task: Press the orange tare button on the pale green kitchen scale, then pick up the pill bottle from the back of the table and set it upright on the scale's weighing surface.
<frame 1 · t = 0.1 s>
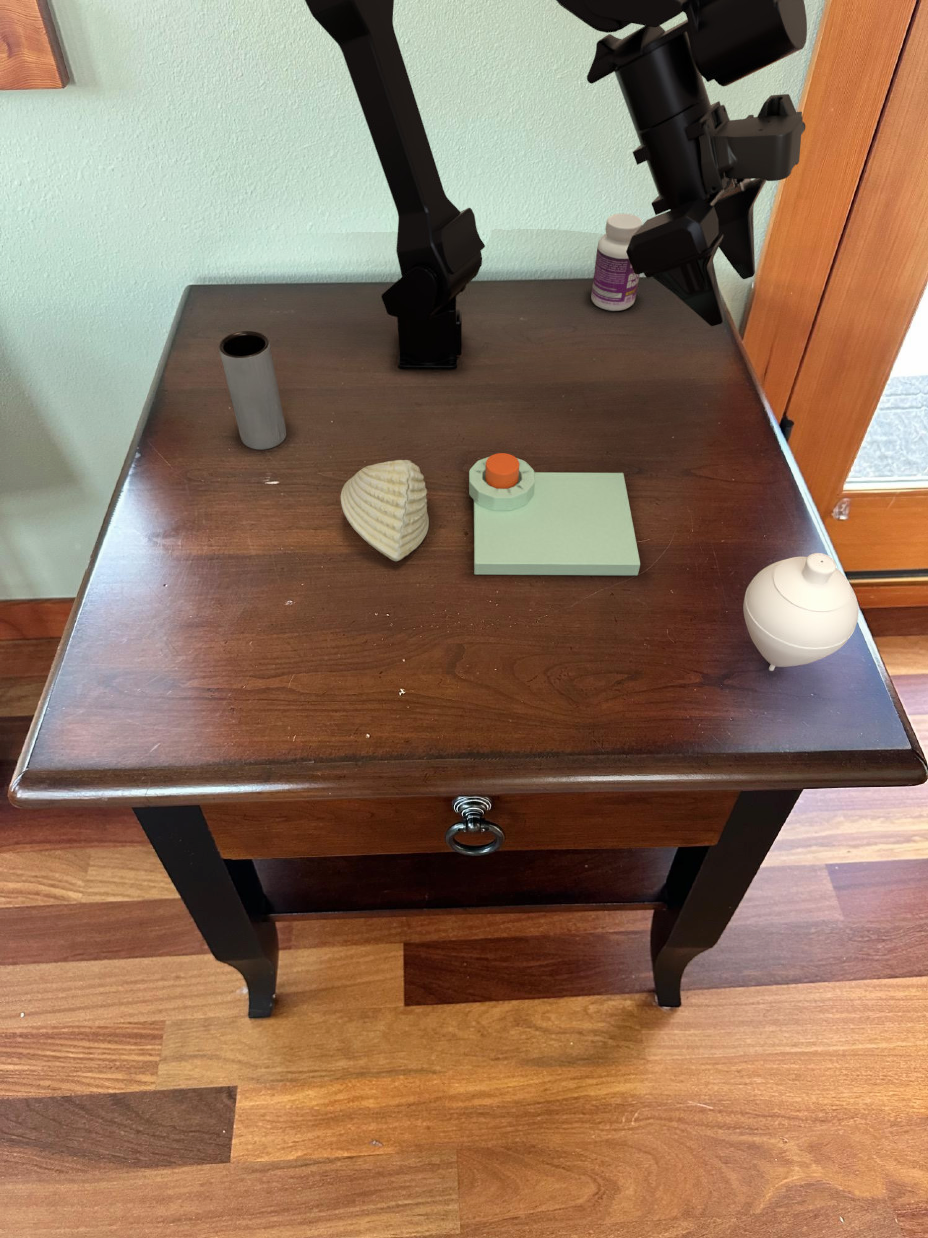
hand: (733, 299, 72), 15 cm above the table, tool tilted 35°, fingers open, 9 cm apart
pill bottle: (612, 302, 101), on the table
spinning top: (770, 671, 65), on the table
tare button: (502, 471, 75), point 4 cm above the table, slide at 0.1 cm
seashell: (385, 527, 75), on the table
grey cylindrical tube: (264, 437, 84), on the table
scale: (551, 527, 75), on the table
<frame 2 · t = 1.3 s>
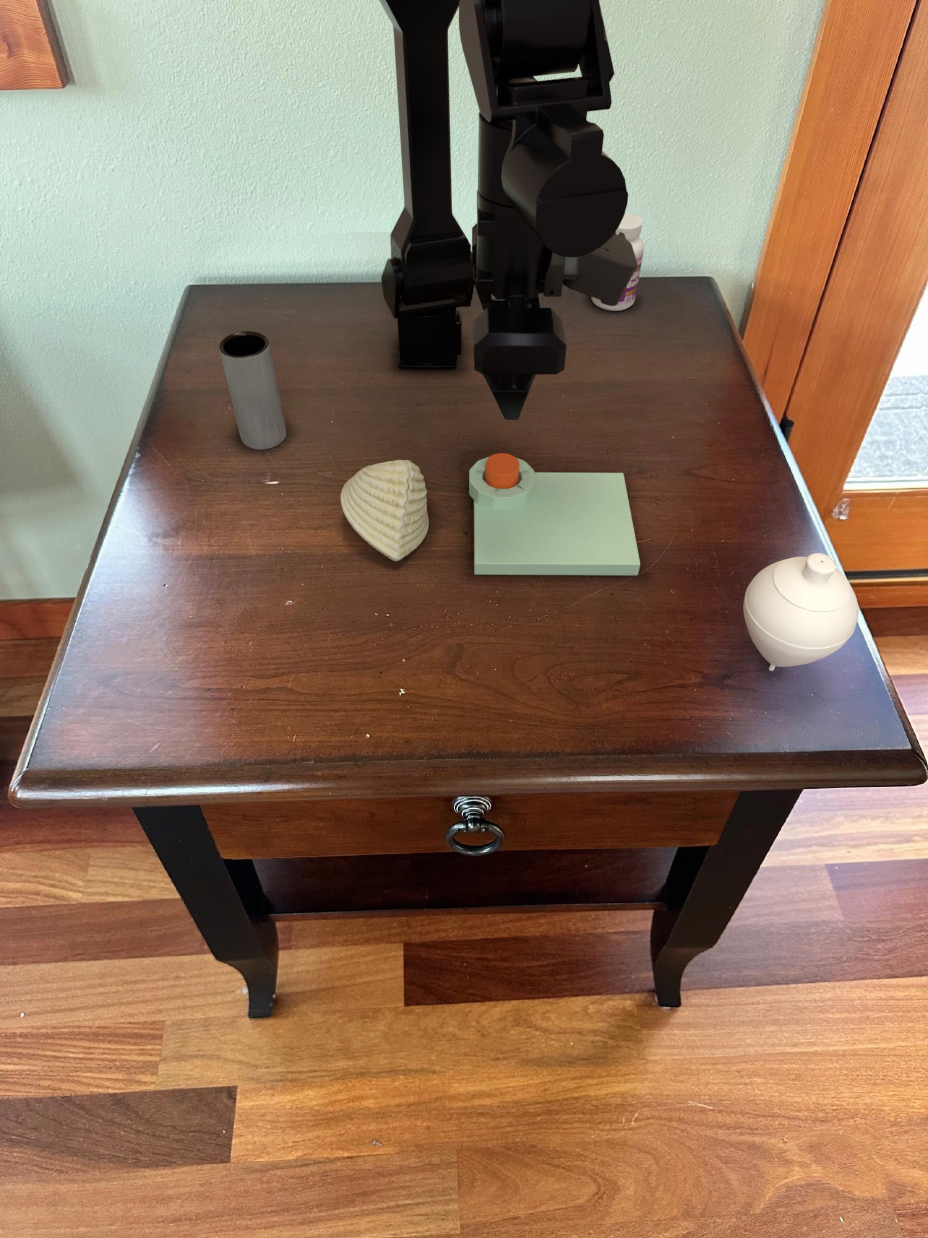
hand: (509, 388, 68), 12 cm above the table, tool pointing down, fingers open, 8 cm apart
nothing on the table moved.
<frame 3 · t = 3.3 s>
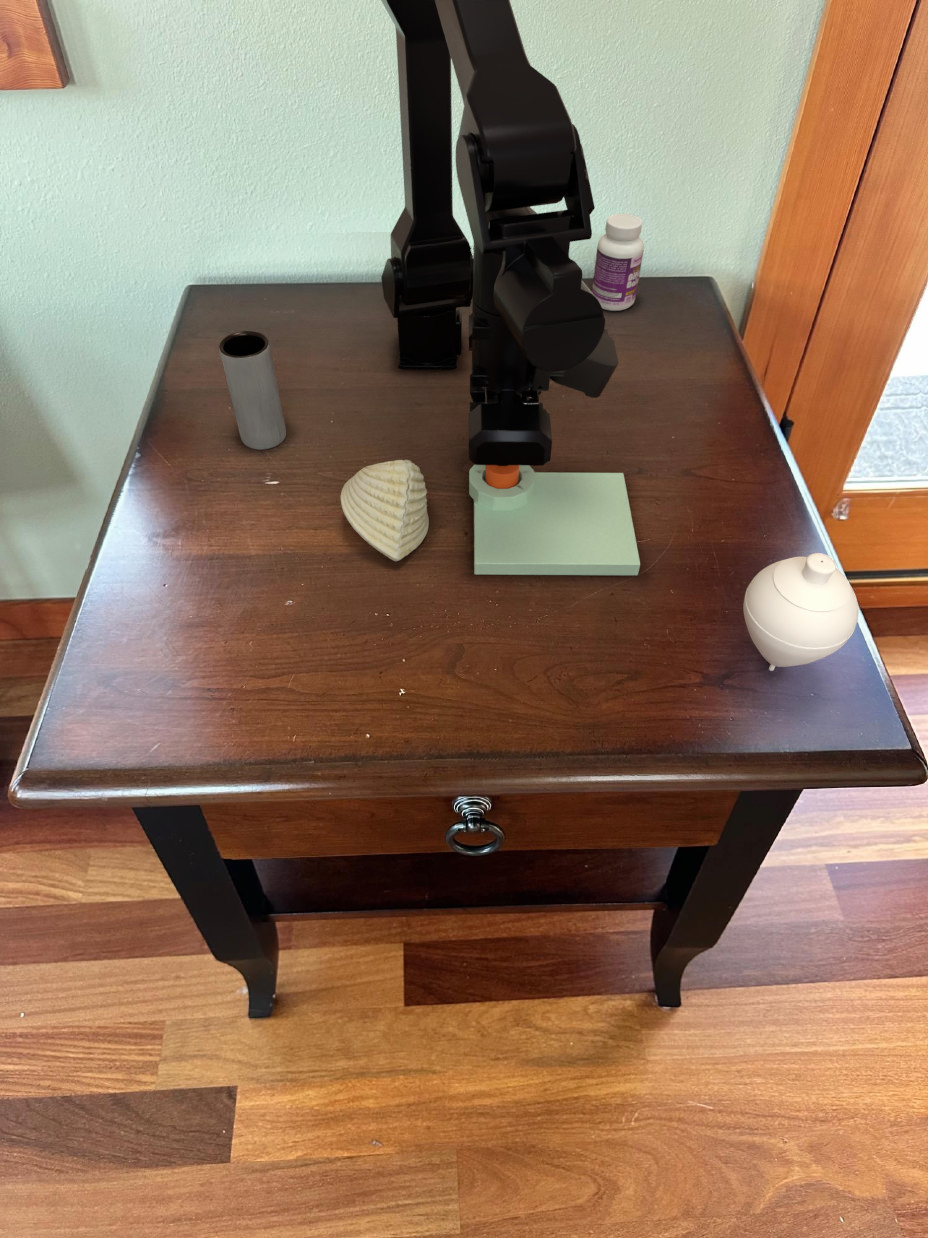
hand: (502, 463, 74), 4 cm above the table, tool pointing down, fingers closed, pressing on tare button
tare button: (502, 471, 75), point 3 cm above the table, slide at 0.1 cm, touching gripper
everything else where it was.
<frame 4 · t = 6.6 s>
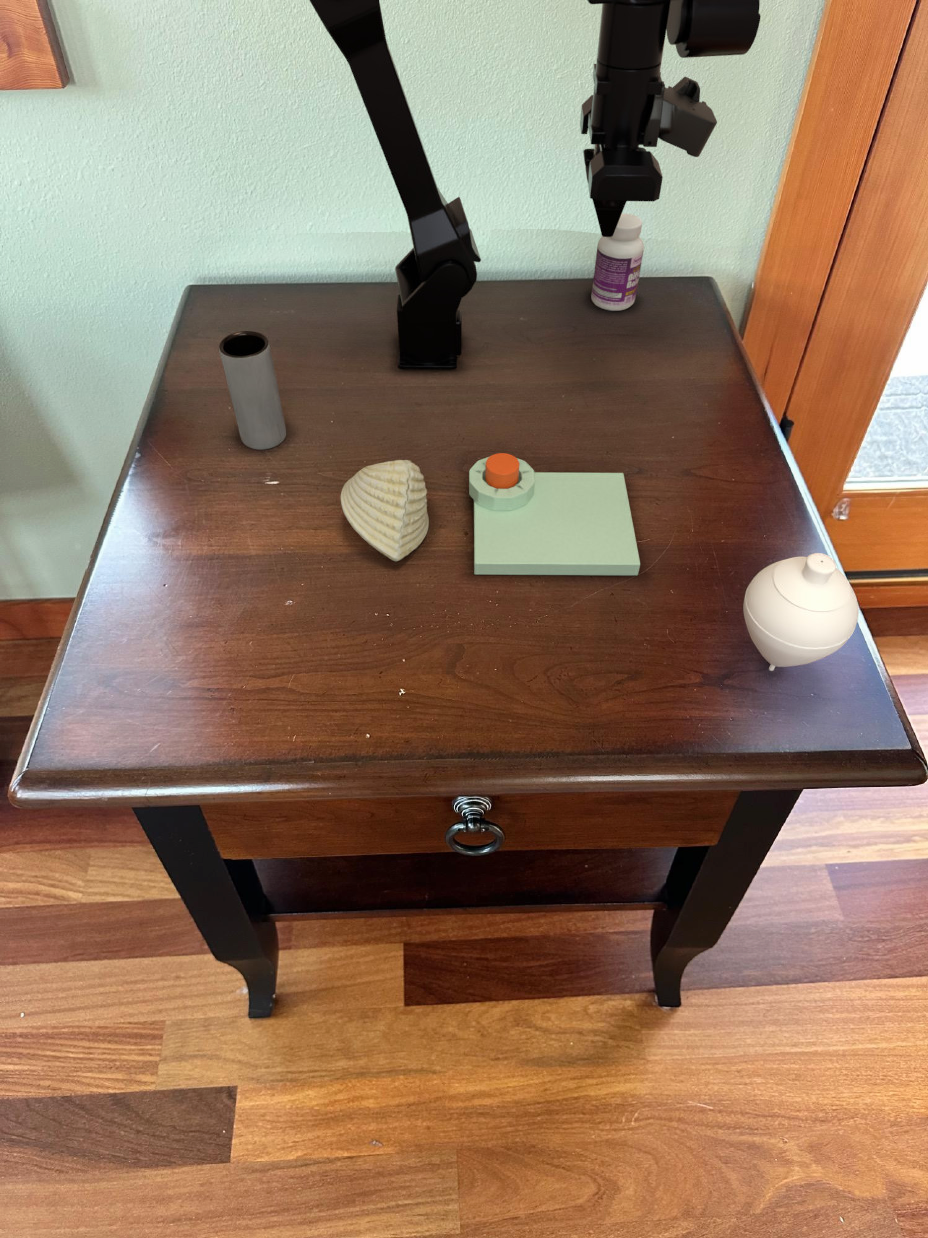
hand: (607, 235, 86), 12 cm above the table, tool pointing down, fingers closed
tare button: (502, 471, 75), point 4 cm above the table, slide at 0.1 cm
everything else where it was.
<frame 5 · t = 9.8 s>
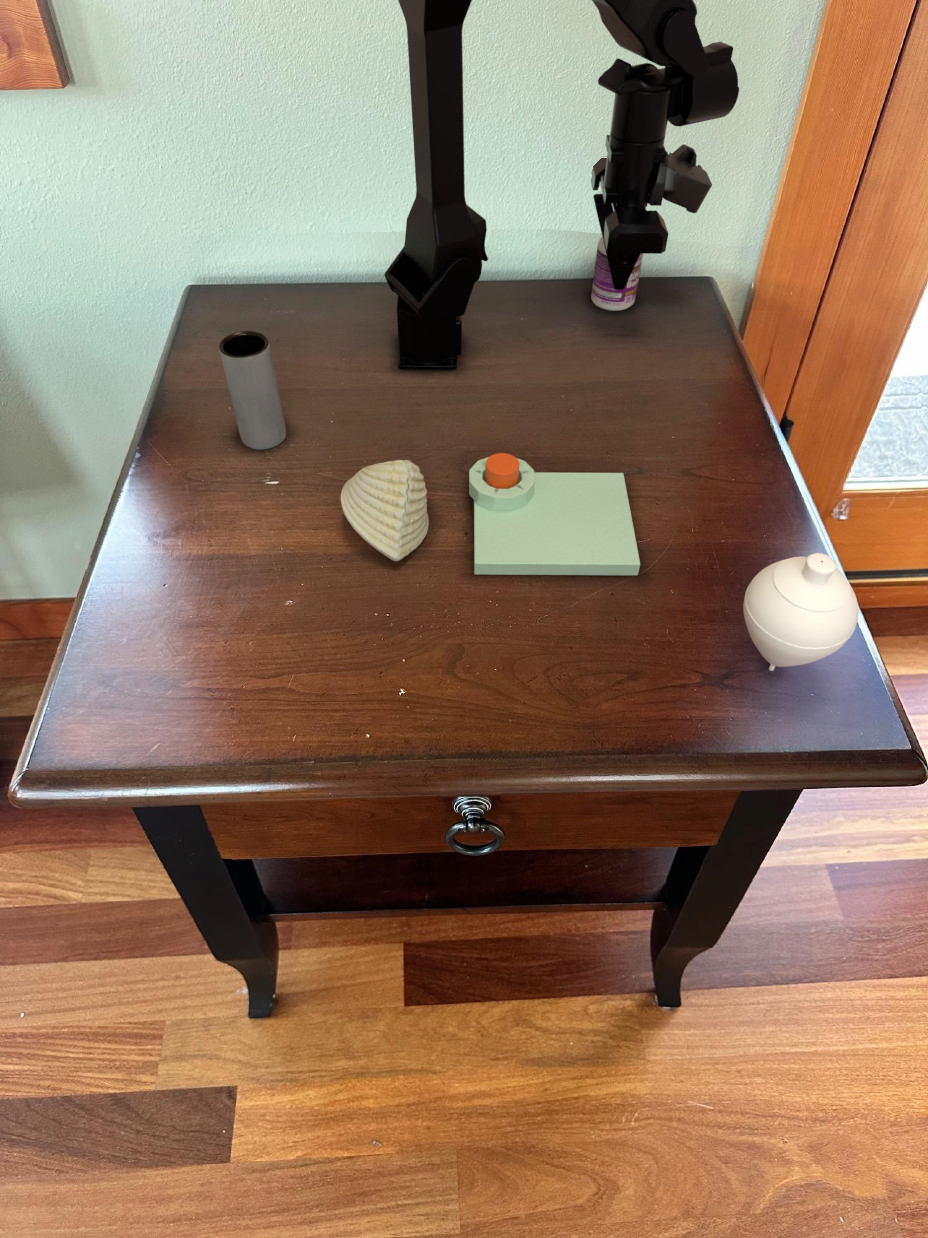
hand: (616, 277, 99), 3 cm above the table, tool pointing down, fingers closed on pill bottle, 5 cm apart
pill bottle: (612, 302, 101), on the table, touching gripper
everything else where it was.
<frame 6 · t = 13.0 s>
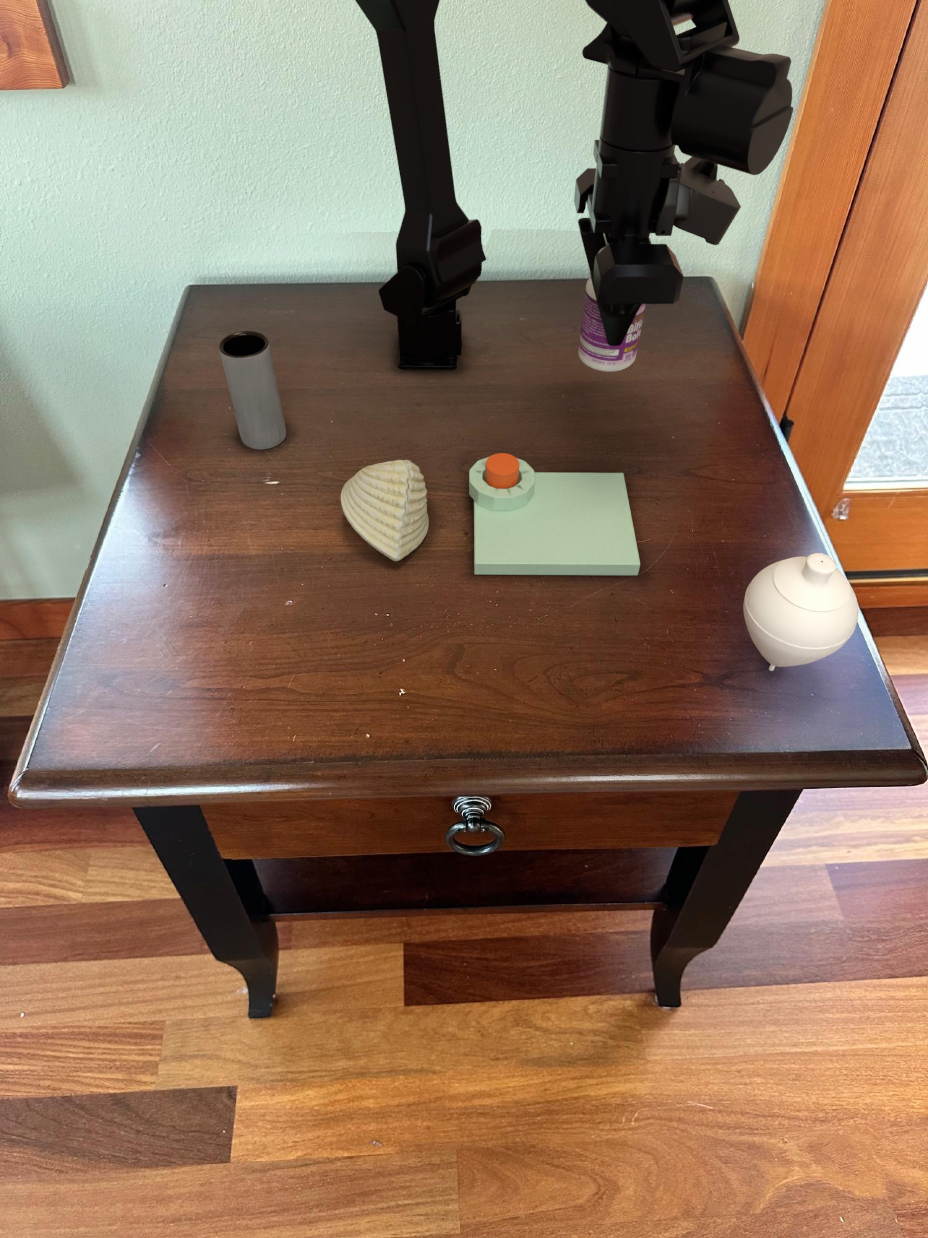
hand: (610, 327, 74), 12 cm above the table, tool pointing down, fingers closed on pill bottle, 5 cm apart
pill bottle: (606, 359, 77), point 9 cm above the table, touching gripper
everything else where it was.
when the fingers open (4 cm above the table, at t = 16.5 s): pill bottle stays where it is, resting on scale.
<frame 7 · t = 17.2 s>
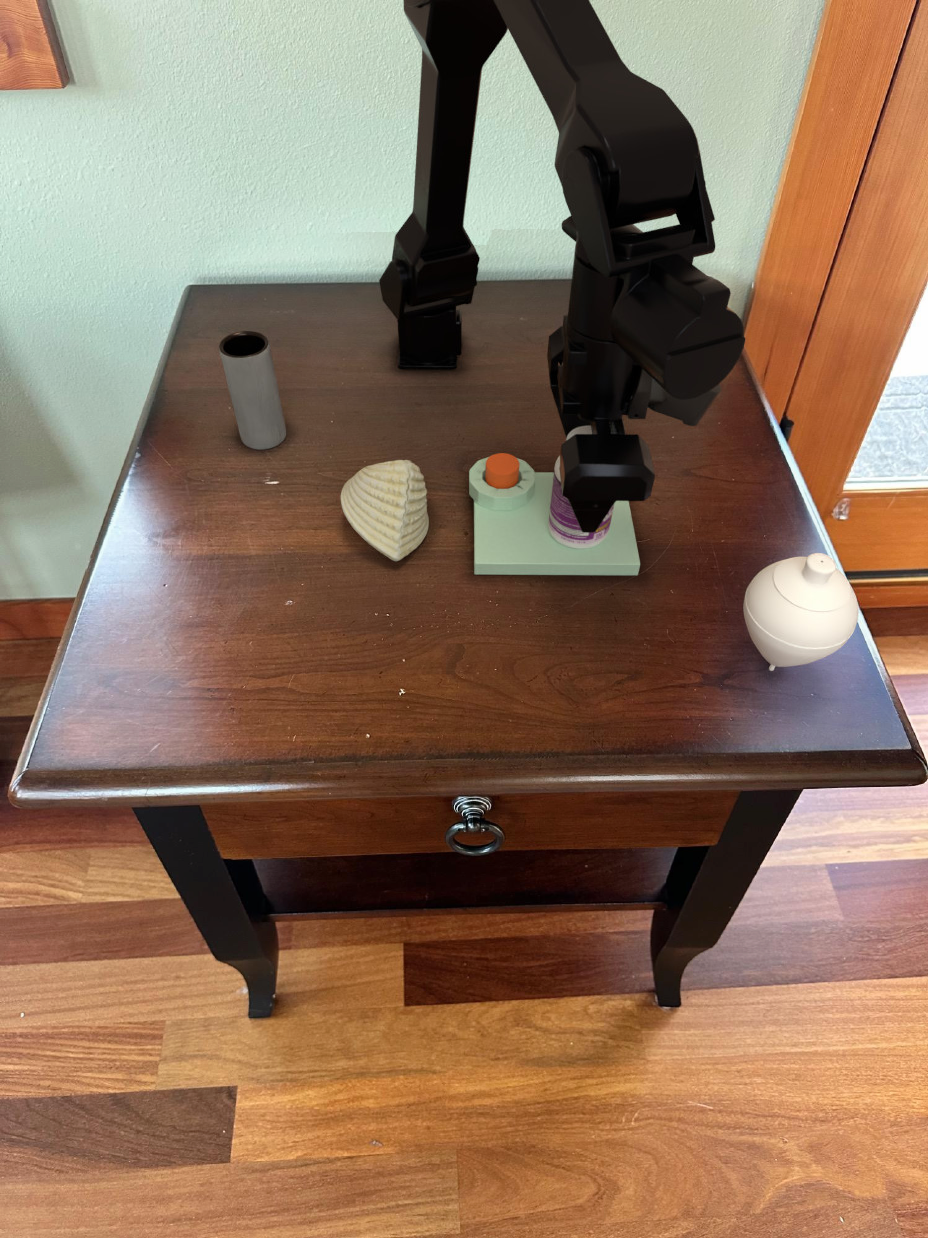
hand: (583, 493, 69), 6 cm above the table, tool pointing down, fingers open, 9 cm apart
pill bottle: (578, 531, 73), point 1 cm above the table, touching scale
everything else where it was.
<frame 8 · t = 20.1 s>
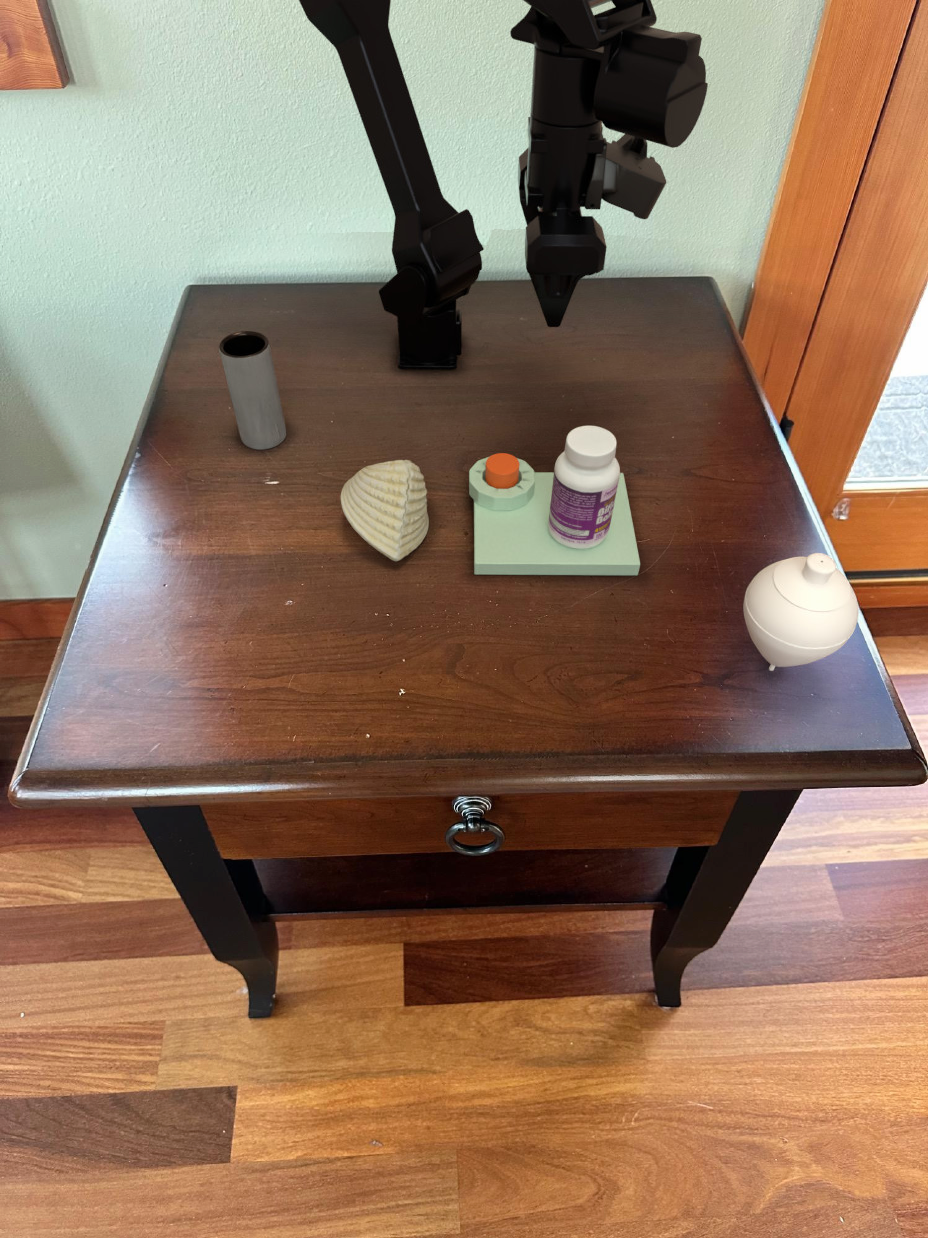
hand: (550, 299, 78), 12 cm above the table, tool pointing down, fingers open, 9 cm apart
nothing on the table moved.
at the end: tare button pushed in 0.9 cm at the most during the clip, back to where it started at the end; pill bottle inside the target area on the scale (2.8 cm from its centre), point 1.2 cm above the scale's base; pill bottle touching scale; pill bottle tilted 0° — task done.
